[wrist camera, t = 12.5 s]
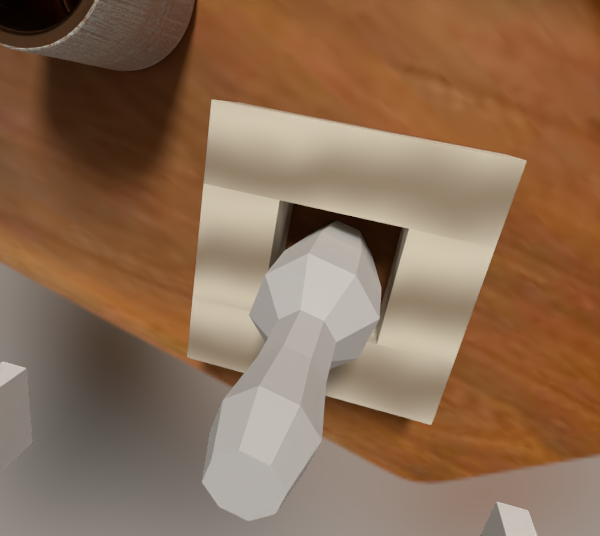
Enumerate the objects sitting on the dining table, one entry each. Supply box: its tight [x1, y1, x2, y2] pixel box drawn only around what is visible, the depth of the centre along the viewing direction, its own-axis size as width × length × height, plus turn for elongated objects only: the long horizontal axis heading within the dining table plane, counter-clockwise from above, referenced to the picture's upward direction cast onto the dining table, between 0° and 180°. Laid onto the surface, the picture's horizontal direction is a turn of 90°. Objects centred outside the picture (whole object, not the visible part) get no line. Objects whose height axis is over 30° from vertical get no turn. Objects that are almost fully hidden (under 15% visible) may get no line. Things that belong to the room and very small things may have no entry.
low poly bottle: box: [202, 220, 381, 521], centre depth 22 cm, size 6×6×22 cm
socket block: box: [187, 100, 526, 425], centre depth 30 cm, size 18×18×5 cm
